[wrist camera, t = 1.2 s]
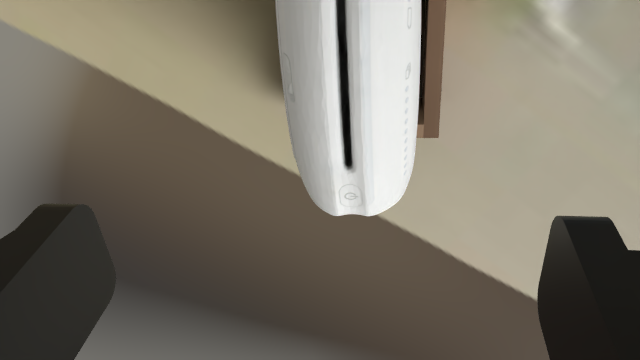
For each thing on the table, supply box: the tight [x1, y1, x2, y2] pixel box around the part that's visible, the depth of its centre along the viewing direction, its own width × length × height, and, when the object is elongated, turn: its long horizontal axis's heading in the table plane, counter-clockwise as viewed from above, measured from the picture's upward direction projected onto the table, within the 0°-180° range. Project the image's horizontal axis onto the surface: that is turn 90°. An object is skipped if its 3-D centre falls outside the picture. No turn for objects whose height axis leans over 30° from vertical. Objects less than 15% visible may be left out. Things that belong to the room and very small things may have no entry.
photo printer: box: [275, 0, 421, 216], centre depth 20 cm, size 10×4×12 cm, turn 4°
